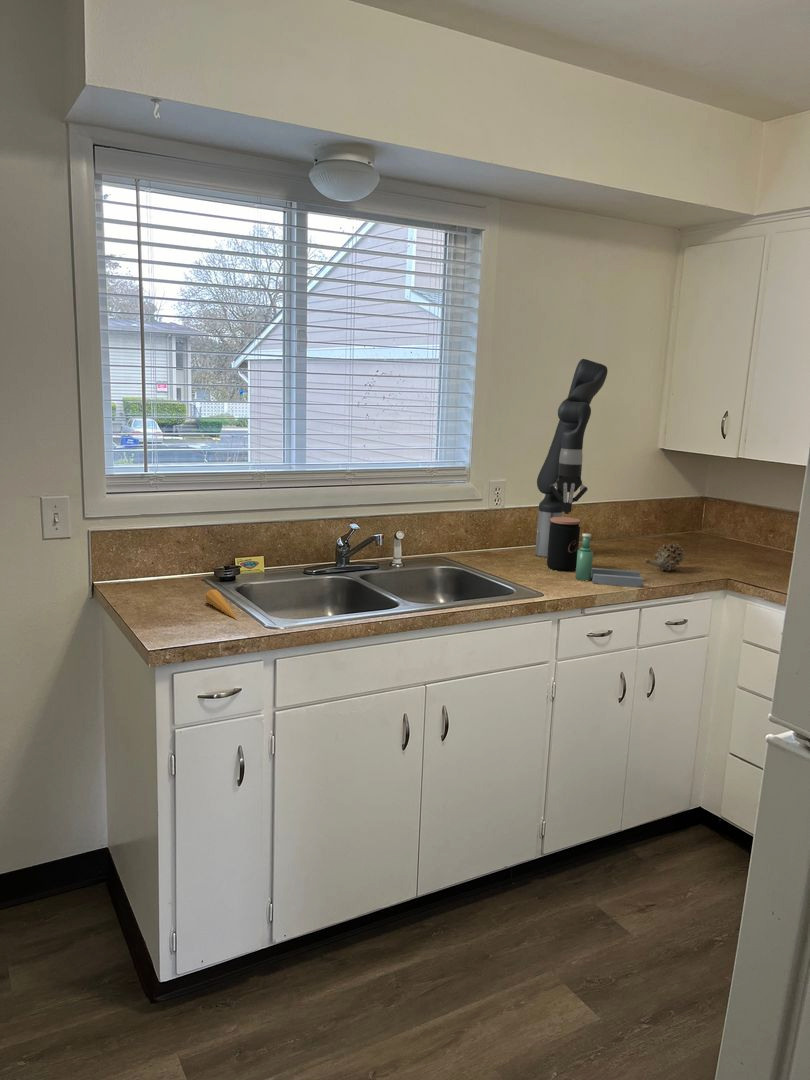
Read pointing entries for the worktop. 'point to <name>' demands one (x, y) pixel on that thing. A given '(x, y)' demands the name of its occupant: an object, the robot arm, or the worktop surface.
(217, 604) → the carrot
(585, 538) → the bottle
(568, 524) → the coffee jar
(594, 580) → the cradle
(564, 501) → the robot arm
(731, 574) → the worktop surface
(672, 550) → the pine cone
